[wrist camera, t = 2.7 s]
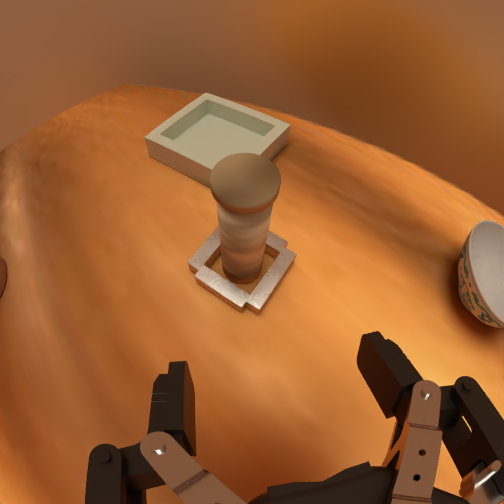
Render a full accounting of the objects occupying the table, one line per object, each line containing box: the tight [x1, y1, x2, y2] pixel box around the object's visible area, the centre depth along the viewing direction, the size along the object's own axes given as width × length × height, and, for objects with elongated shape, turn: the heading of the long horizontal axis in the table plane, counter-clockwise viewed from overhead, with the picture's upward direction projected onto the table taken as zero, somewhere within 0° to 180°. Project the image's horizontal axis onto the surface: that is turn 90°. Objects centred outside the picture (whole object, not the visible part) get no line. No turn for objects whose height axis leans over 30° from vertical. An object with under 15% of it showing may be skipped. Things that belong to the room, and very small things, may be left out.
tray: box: [145, 93, 290, 188], centre depth 41 cm, size 16×14×4 cm
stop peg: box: [210, 153, 281, 284], centre depth 27 cm, size 5×5×15 cm
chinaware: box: [458, 220, 504, 328], centre depth 30 cm, size 15×15×8 cm
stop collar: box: [188, 226, 296, 315], centre depth 33 cm, size 9×9×2 cm
